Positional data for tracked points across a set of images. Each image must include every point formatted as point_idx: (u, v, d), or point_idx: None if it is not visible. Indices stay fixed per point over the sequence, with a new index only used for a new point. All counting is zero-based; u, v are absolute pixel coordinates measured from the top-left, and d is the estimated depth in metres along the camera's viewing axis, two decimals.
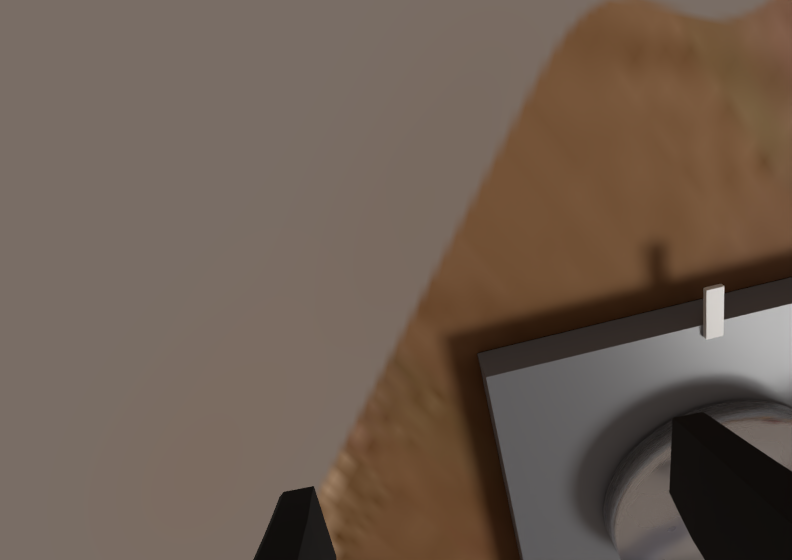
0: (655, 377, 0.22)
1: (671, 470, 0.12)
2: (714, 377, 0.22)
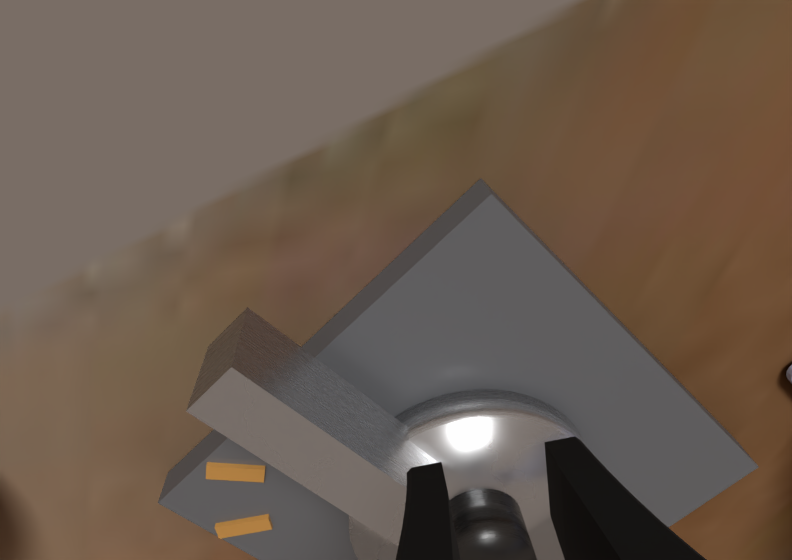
0: None
1: (549, 494, 0.12)
2: None
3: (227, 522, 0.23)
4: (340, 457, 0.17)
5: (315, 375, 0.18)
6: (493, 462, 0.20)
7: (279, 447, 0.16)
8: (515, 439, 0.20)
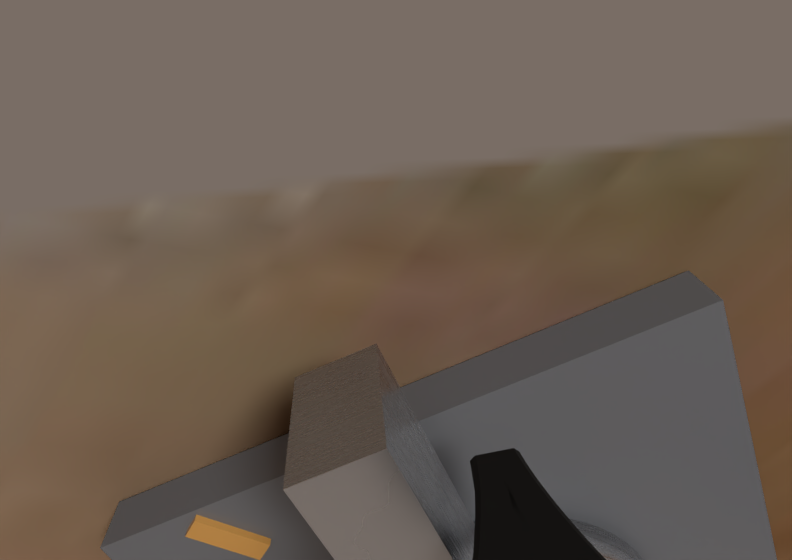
0: None
1: None
2: None
3: None
4: None
5: (432, 464, 0.13)
6: None
7: None
8: None
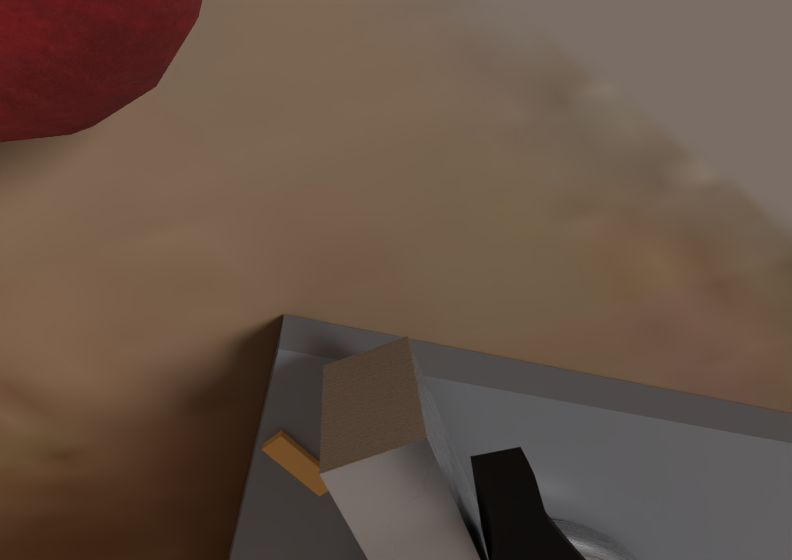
0: None
1: (478, 507, 0.12)
2: None
3: (291, 442, 0.14)
4: None
5: (454, 460, 0.13)
6: None
7: None
8: None
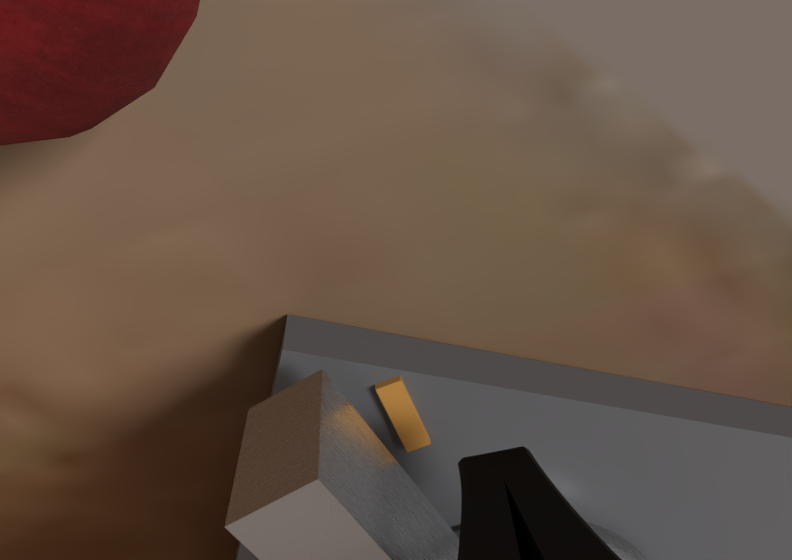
0: None
1: None
2: None
3: None
4: None
5: (392, 481, 0.13)
6: None
7: None
8: None
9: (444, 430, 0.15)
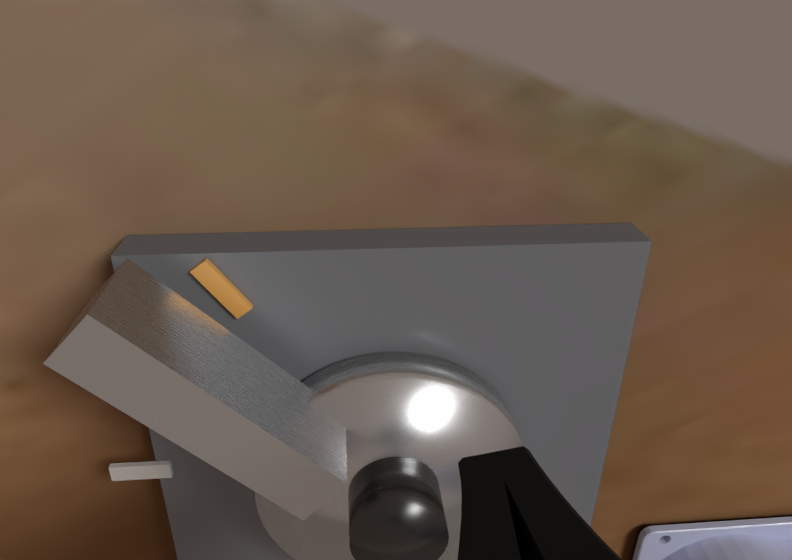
0: (218, 507, 0.22)
1: None
2: None
3: None
4: (220, 416, 0.15)
5: (201, 331, 0.17)
6: (404, 428, 0.19)
7: (151, 404, 0.15)
8: (426, 403, 0.19)
9: (261, 296, 0.19)
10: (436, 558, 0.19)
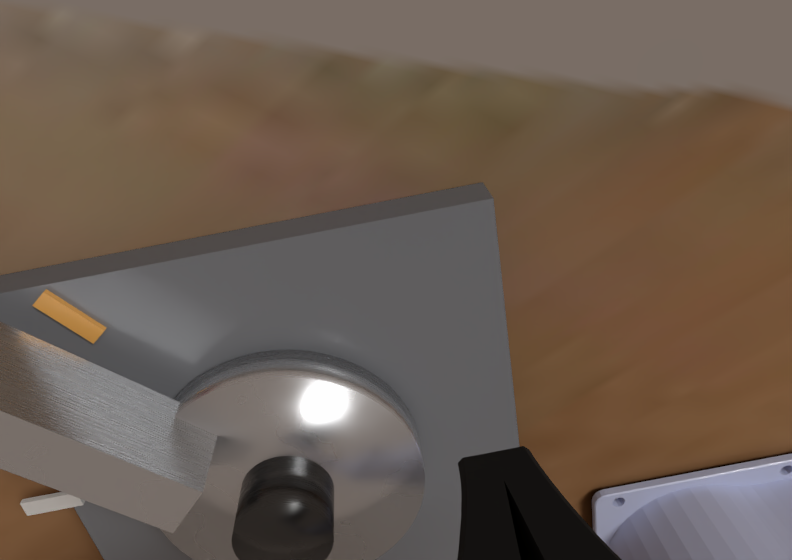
0: (139, 528, 0.23)
1: None
2: None
3: None
4: (51, 443, 0.16)
5: (40, 362, 0.17)
6: (276, 427, 0.19)
7: None
8: (289, 399, 0.18)
9: (111, 317, 0.19)
10: (327, 553, 0.19)
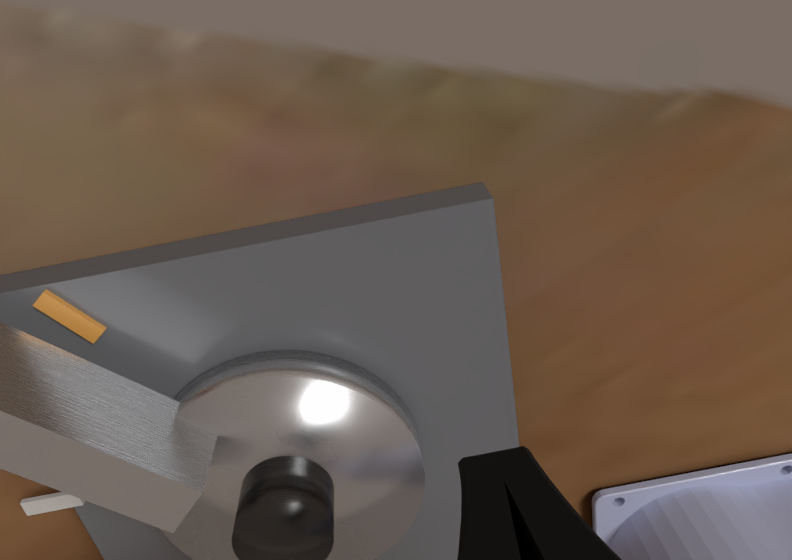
0: (139, 528, 0.23)
1: None
2: None
3: None
4: (51, 443, 0.16)
5: (40, 362, 0.17)
6: (276, 427, 0.19)
7: None
8: (289, 399, 0.18)
9: (111, 317, 0.19)
10: (327, 553, 0.19)
